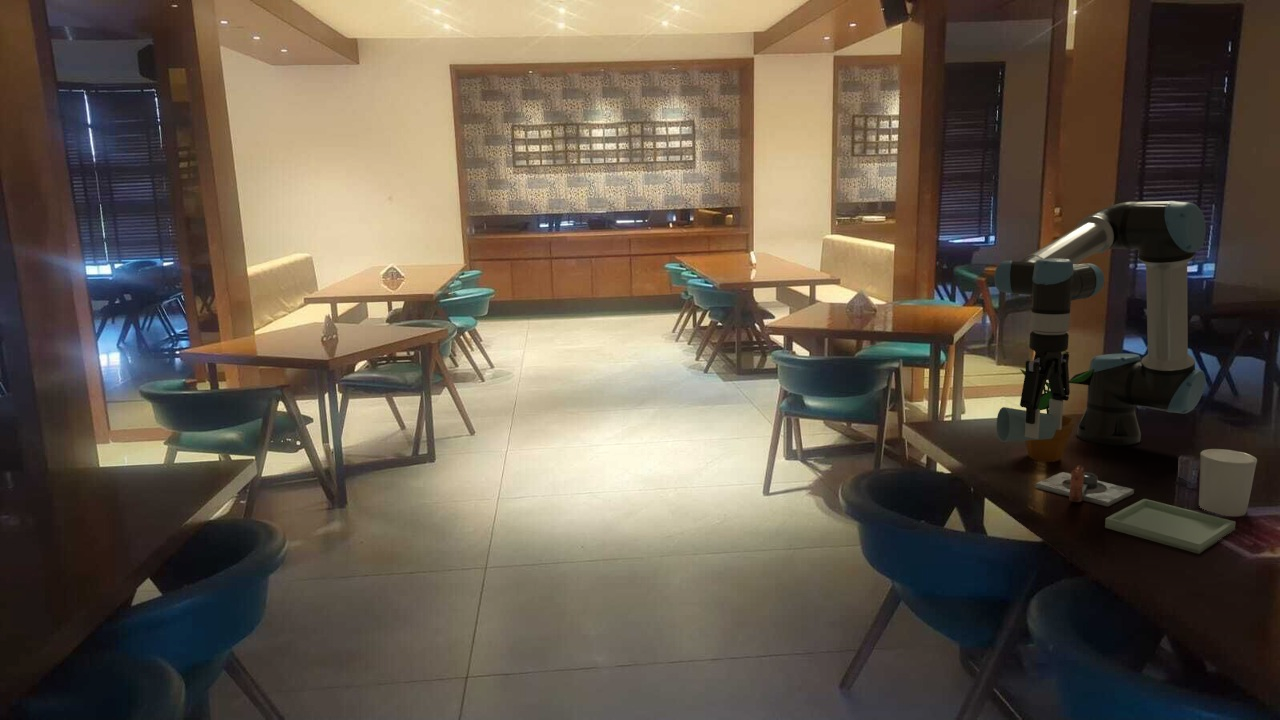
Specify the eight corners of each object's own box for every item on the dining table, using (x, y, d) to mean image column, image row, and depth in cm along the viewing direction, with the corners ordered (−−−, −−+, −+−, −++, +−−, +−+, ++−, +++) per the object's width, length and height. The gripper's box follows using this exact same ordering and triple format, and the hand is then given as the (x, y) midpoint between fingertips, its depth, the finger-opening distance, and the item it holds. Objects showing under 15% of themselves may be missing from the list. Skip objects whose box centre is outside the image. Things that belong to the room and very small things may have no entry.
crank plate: (1062, 476, 204) (1062, 471, 203) (1133, 494, 191) (1134, 488, 191) (1035, 488, 196) (1036, 482, 196) (1107, 507, 184) (1108, 501, 184)
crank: (1074, 480, 197) (1076, 450, 195) (1098, 484, 194) (1101, 453, 193) (1060, 502, 184) (1062, 470, 182) (1085, 506, 181) (1088, 474, 179)
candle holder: (1252, 522, 174) (1258, 466, 172) (1194, 513, 179) (1200, 458, 177) (1249, 506, 182) (1255, 452, 180) (1194, 499, 187) (1200, 446, 185)
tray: (1143, 508, 183) (1144, 498, 182) (1234, 532, 170) (1235, 521, 169) (1104, 528, 173) (1105, 518, 172) (1198, 555, 160) (1199, 544, 159)
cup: (1059, 442, 184) (1010, 439, 185) (1043, 445, 192) (996, 443, 192) (1057, 407, 186) (1009, 405, 186) (1042, 412, 193) (995, 410, 194)
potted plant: (1068, 474, 205) (1077, 351, 199) (992, 457, 219) (999, 341, 213) (1098, 457, 217) (1108, 340, 211) (1025, 442, 230) (1032, 332, 225)
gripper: (1058, 323, 192) (1052, 419, 197) (1005, 336, 180) (999, 439, 184) (1092, 327, 187) (1085, 426, 191) (1039, 340, 174) (1033, 447, 178)
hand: (1043, 432), depth 188 cm, fingers closed on cup, 9 cm apart
